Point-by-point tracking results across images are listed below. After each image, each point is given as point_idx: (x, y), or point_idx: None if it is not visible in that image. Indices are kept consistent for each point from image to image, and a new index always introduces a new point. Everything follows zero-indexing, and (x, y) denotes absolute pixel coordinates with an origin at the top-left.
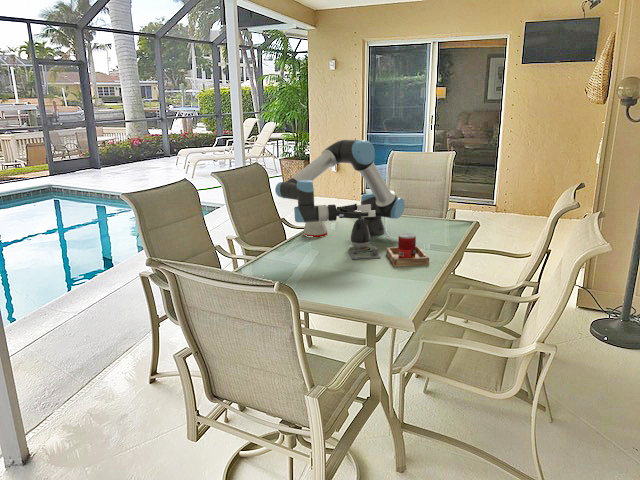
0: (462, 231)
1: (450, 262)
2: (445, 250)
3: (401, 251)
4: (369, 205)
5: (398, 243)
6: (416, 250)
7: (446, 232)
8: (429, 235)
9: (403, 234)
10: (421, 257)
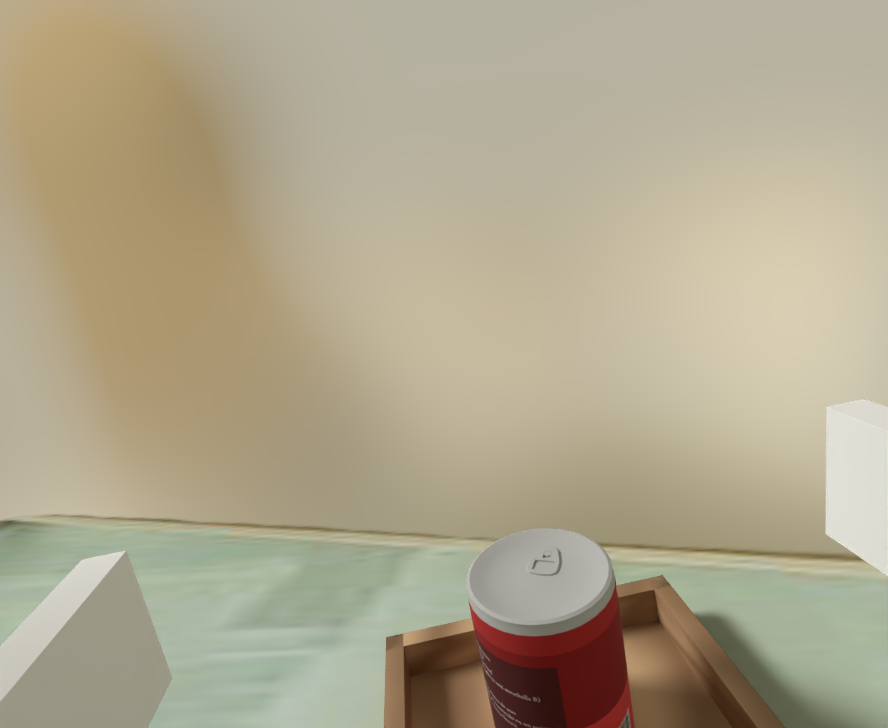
0: (105, 536)
1: None
2: (375, 568)
3: (619, 719)
4: (114, 590)
5: (563, 694)
6: (409, 670)
7: None
8: None
9: (493, 598)
10: None
